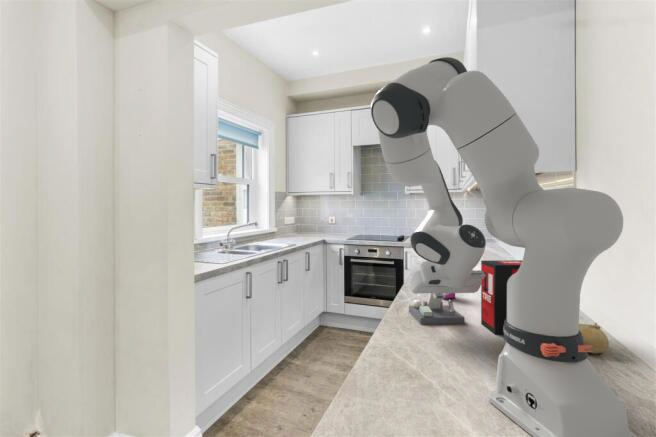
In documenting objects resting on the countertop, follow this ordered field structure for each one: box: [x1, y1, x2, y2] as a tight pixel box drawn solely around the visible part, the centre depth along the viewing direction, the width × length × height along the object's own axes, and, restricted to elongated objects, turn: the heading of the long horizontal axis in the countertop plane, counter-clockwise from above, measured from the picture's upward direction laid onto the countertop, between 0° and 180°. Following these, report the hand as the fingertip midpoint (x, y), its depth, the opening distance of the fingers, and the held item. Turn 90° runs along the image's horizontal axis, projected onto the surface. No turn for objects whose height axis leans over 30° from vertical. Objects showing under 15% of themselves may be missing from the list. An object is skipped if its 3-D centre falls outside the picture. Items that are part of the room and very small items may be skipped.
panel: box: [408, 300, 466, 325], centre depth 107 cm, size 13×14×5 cm
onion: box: [579, 322, 610, 355], centre depth 81 cm, size 8×8×7 cm
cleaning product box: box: [480, 259, 523, 336], centre depth 95 cm, size 16×9×20 cm, turn 88°
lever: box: [426, 293, 443, 309], centre depth 106 cm, size 2×4×12 cm, turn 92°
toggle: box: [448, 299, 457, 313], centre depth 105 cm, size 1×2×4 cm, turn 92°
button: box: [412, 299, 423, 308], centre depth 111 cm, size 3×3×2 cm
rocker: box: [419, 305, 432, 316], centre depth 103 cm, size 4×3×1 cm
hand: (438, 296), depth 101 cm, fingers closed
